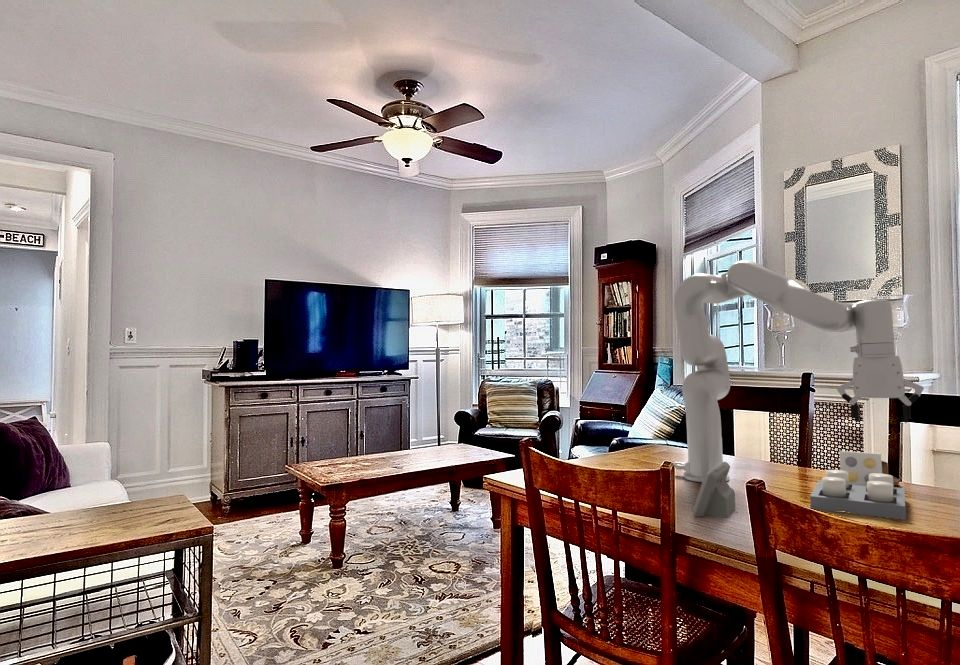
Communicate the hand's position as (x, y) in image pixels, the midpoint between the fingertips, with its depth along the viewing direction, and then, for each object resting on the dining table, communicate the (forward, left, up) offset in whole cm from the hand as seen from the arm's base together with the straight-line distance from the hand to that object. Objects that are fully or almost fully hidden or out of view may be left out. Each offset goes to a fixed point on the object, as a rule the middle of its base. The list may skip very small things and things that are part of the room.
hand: (881, 421), depth 139 cm
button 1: (-10, -10, -17) cm, 21 cm away
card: (-5, +9, -20) cm, 22 cm away
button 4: (-1, -1, -17) cm, 16 cm away
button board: (-5, -5, -20) cm, 21 cm away
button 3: (-1, -10, -17) cm, 19 cm away
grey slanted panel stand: (-33, -26, -20) cm, 47 cm away
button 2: (-10, -1, -17) cm, 19 cm away
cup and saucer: (-3, +19, -20) cm, 28 cm away
